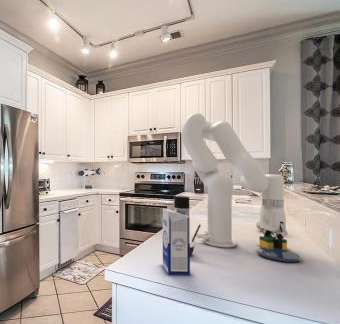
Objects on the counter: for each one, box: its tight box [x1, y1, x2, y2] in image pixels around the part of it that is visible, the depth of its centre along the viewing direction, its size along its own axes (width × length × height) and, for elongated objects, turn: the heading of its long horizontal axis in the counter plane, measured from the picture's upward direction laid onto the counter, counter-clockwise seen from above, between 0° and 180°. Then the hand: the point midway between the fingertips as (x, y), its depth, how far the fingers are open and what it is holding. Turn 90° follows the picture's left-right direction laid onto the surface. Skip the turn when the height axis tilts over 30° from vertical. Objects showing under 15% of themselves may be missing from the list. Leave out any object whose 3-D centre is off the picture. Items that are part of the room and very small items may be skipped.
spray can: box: [173, 195, 190, 217], centre depth 116 cm, size 7×7×20 cm
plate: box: [256, 247, 301, 263], centre depth 94 cm, size 13×13×2 cm
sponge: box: [259, 235, 288, 251], centre depth 105 cm, size 8×5×4 cm, turn 89°
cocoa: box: [190, 223, 201, 256], centre depth 96 cm, size 10×6×12 cm, turn 49°
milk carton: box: [162, 207, 191, 276], centre depth 82 cm, size 7×7×20 cm
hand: (272, 246), depth 105 cm, fingers closed on sponge, 5 cm apart
